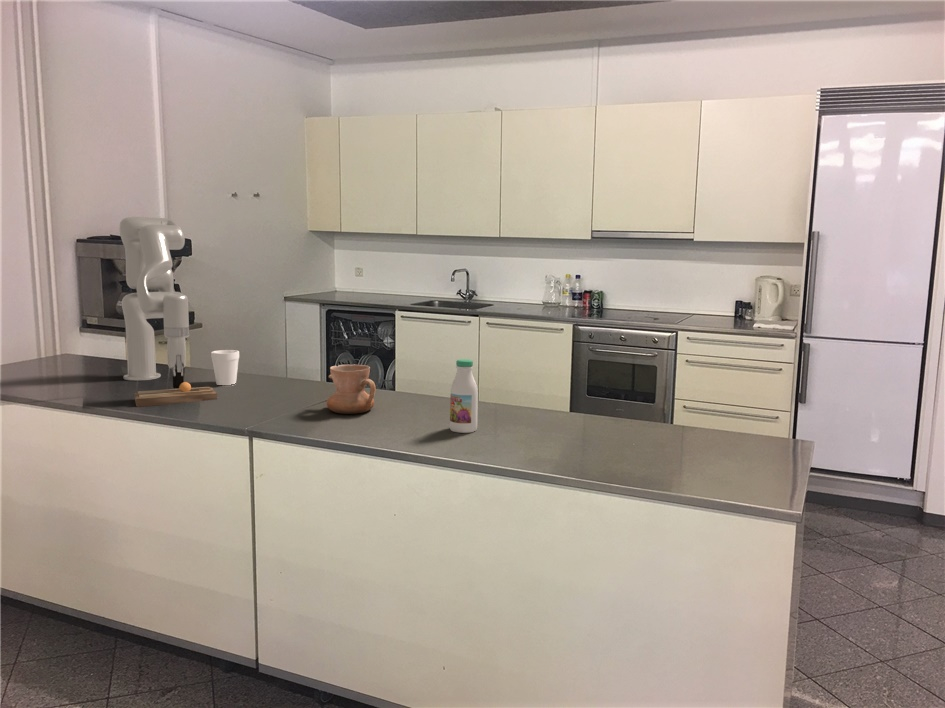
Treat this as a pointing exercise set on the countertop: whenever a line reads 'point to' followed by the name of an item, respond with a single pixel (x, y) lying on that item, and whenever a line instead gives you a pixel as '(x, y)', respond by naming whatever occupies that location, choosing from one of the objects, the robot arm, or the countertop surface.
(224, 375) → the foam cup
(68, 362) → the countertop surface
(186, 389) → the ball
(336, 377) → the ceramic jug
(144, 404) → the runway
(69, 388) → the countertop surface
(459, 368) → the milk bottle
